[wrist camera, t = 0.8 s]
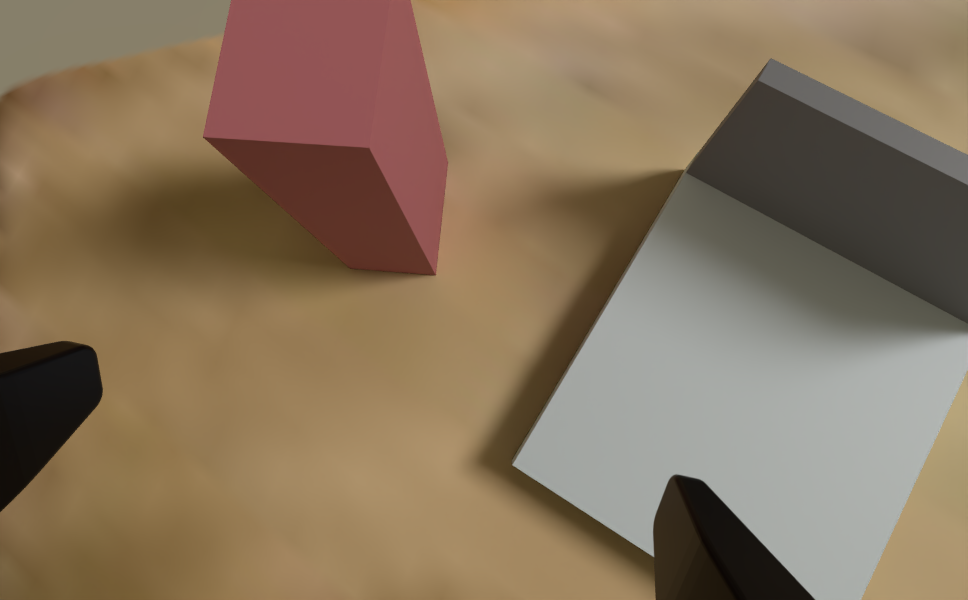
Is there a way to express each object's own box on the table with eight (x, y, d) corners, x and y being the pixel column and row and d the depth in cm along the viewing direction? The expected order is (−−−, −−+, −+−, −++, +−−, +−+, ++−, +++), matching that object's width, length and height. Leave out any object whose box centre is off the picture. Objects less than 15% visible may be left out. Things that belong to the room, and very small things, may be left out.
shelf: (802, 649, 19) (996, 808, 11) (511, 460, 20) (516, 492, 13) (960, 316, 21) (1212, 267, 13) (685, 169, 22) (774, 52, 15)
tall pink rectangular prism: (435, 275, 22) (368, 148, 11) (350, 268, 22) (202, 137, 11) (447, 162, 23) (397, -55, 12) (365, 157, 23) (243, -62, 12)
